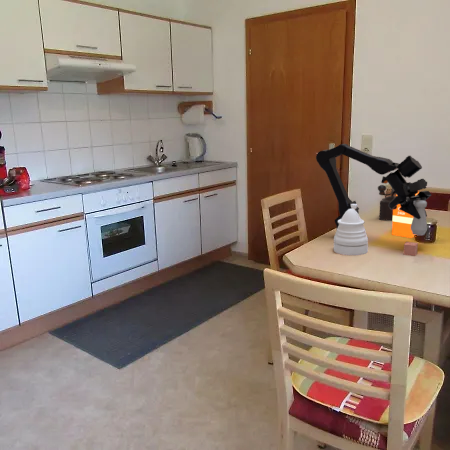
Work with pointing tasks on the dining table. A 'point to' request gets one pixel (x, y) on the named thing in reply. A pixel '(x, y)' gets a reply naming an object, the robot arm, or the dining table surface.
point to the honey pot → (351, 234)
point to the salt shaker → (419, 224)
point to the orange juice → (402, 223)
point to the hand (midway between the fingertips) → (422, 217)
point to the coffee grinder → (385, 204)
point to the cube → (410, 248)
